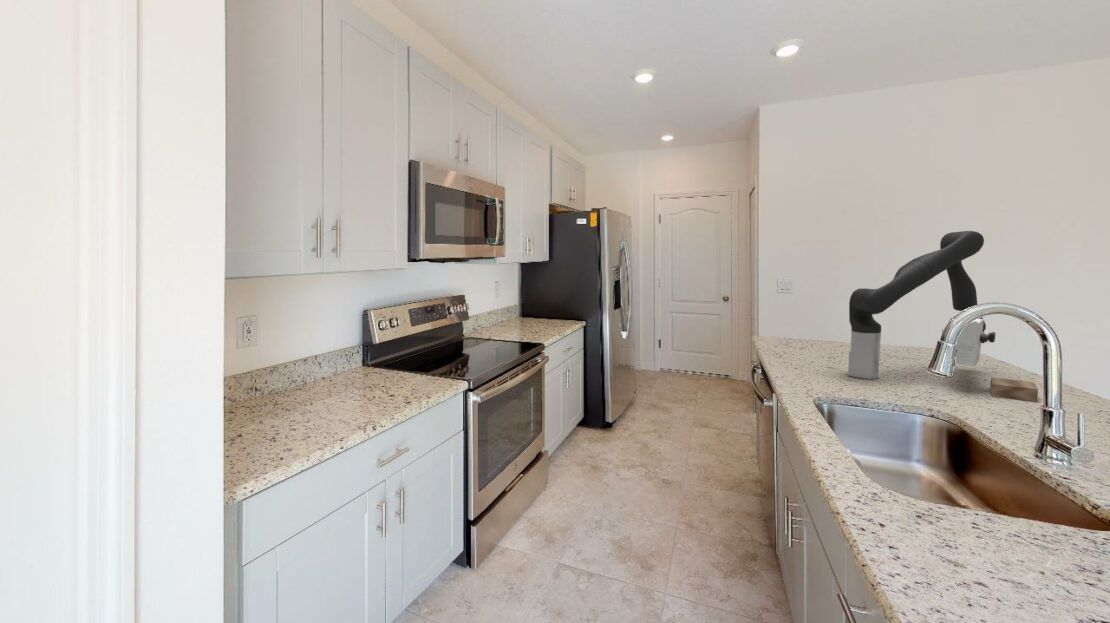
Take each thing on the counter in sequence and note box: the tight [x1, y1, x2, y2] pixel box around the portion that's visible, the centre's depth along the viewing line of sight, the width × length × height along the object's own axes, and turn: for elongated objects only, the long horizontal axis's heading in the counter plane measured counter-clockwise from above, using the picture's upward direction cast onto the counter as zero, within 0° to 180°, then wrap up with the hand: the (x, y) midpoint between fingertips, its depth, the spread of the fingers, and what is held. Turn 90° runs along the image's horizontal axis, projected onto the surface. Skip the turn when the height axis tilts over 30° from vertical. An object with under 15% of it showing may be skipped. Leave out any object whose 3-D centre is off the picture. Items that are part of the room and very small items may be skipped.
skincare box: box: [954, 318, 985, 367], centre depth 151 cm, size 8×6×15 cm
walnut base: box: [989, 377, 1039, 403], centre depth 146 cm, size 10×10×4 cm
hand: (968, 339), depth 150 cm, fingers closed on skincare box, 6 cm apart
